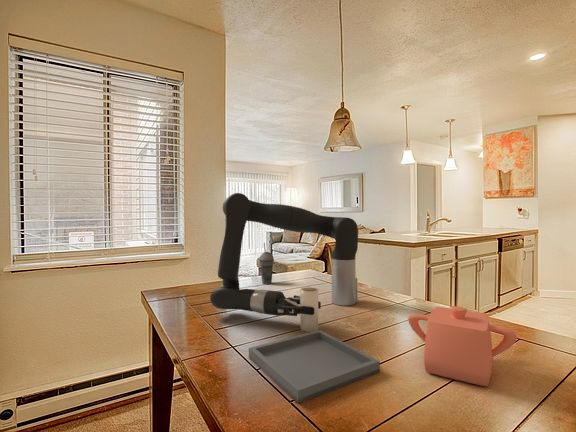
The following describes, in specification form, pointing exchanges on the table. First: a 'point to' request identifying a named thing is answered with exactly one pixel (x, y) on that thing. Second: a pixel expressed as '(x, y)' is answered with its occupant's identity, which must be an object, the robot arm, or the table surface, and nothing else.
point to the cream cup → (309, 299)
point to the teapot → (460, 343)
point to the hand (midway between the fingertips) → (317, 308)
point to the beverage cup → (266, 266)
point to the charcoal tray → (312, 364)
